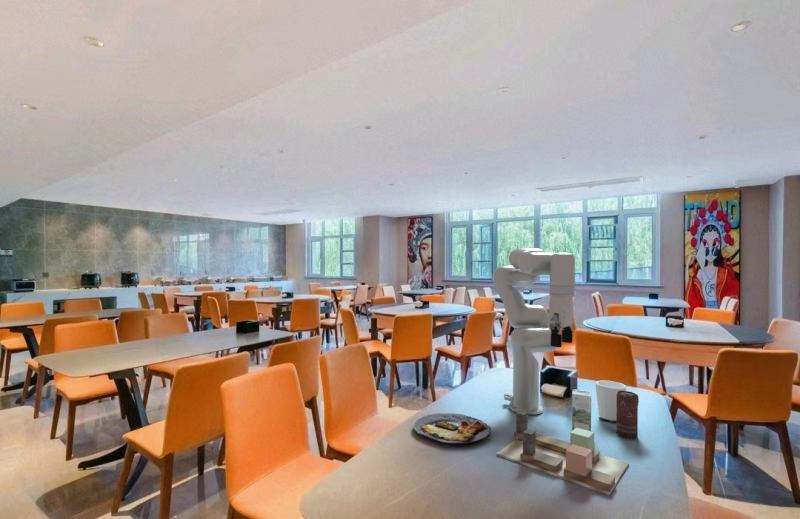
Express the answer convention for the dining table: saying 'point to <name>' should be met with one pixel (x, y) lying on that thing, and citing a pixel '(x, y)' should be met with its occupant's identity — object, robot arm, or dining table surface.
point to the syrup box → (581, 409)
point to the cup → (608, 398)
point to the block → (579, 460)
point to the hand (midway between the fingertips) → (561, 344)
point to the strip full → (544, 437)
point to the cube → (582, 438)
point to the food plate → (452, 428)
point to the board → (601, 464)
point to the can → (627, 415)
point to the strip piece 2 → (593, 479)
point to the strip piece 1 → (537, 453)
